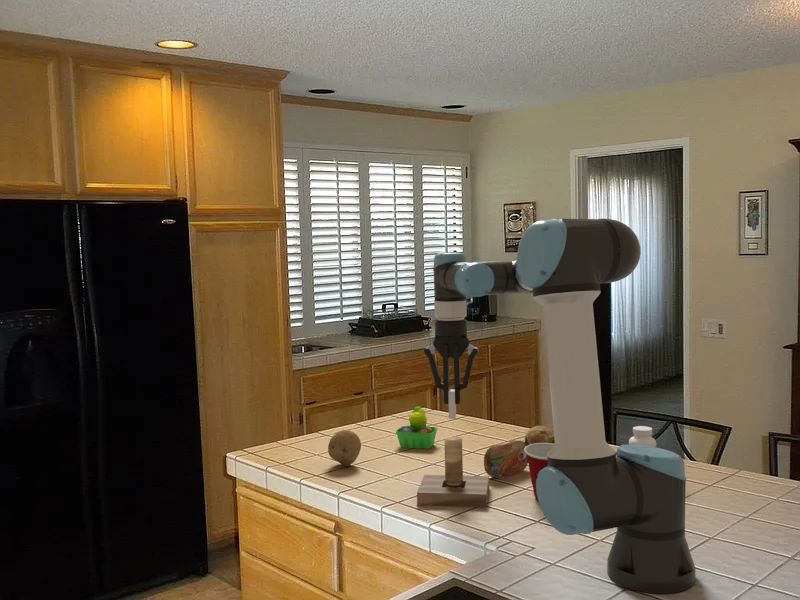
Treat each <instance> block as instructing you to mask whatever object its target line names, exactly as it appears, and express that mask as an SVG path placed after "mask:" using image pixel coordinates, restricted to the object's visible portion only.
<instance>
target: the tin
mask: <svg viewBox="0 0 800 600" xmlns="http://www.w3.org/2000/svg"><path fill="white" fill-rule="evenodd" d="M526 446H527V445H526V444H525V441H522V440H516V439H515V440H514V439H512V440H508V441H504V442H501V443H497V444H495V445H491V446H490V447H488V449H487V450H486V451H485V453H484V455H483V456H484V457H483V466H484V467H483V468H484V471H485V473H486V474H487V476H489V477H492V478H496V479H500V478H501V479H504V478H507V477H510V476H513V475H516V473H517V474H519V472H520V473H522V472H523V471H525V469H526V468H527V466H528V465H529V464H528V460H527V456H526V453H525V452H524V448H525V447H526ZM503 477H504V478H503ZM501 479H500V480H501Z"/></svg>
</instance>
